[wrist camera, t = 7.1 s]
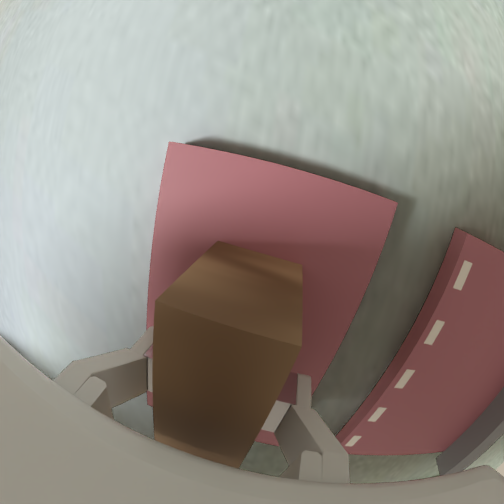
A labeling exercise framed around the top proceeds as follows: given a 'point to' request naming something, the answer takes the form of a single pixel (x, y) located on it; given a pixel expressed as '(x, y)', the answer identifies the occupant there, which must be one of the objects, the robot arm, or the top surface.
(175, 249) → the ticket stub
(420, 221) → the top surface
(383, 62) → the top surface
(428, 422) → the ticket
